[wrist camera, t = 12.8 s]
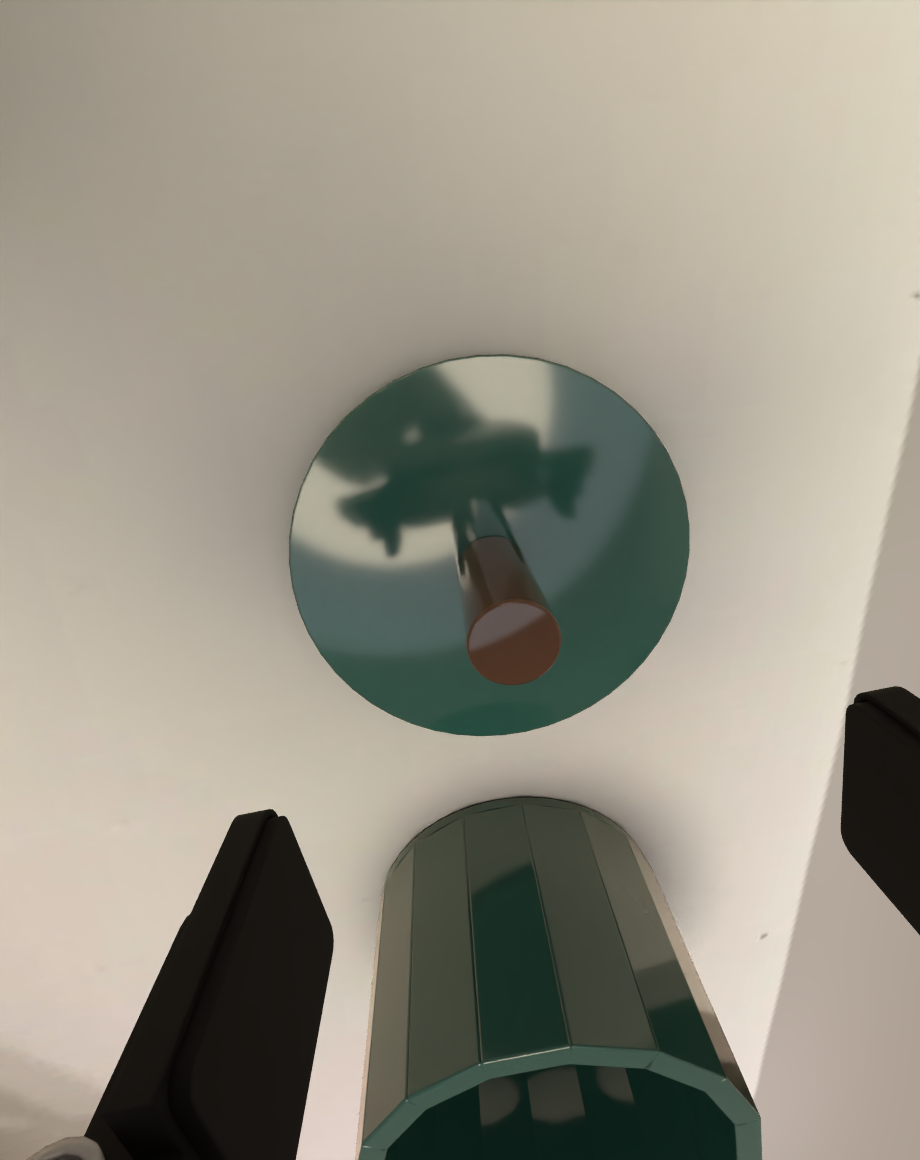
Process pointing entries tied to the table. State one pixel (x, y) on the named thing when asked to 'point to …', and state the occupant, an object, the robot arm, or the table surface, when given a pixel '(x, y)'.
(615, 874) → the canister
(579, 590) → the lid
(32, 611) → the table surface
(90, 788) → the table surface
